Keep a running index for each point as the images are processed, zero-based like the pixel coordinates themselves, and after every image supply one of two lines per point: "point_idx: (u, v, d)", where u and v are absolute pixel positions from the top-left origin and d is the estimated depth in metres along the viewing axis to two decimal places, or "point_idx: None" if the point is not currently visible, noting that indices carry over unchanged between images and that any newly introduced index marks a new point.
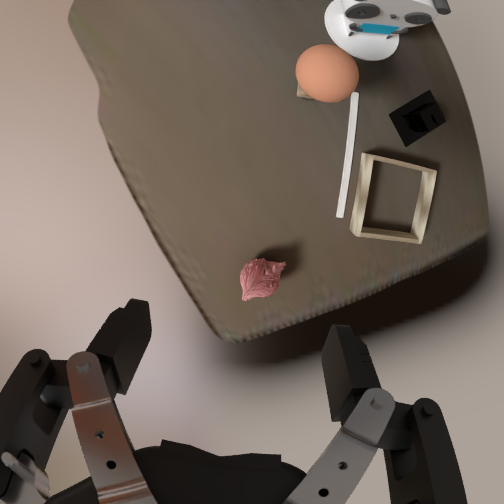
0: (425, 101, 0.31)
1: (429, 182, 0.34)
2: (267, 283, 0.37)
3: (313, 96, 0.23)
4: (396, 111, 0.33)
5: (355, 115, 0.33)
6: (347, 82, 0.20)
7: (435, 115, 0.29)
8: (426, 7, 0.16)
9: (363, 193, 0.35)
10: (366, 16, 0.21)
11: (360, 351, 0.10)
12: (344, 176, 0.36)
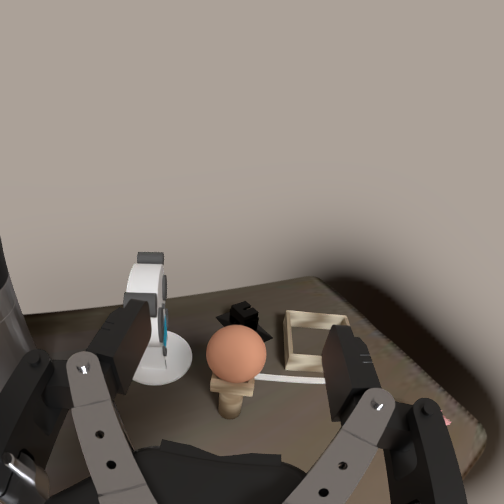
0: (226, 320, 0.48)
1: (296, 315, 0.48)
2: None
3: (263, 364, 0.26)
4: None
5: None
6: (251, 329, 0.27)
7: (242, 306, 0.46)
8: (161, 270, 0.35)
9: None
10: (163, 327, 0.32)
11: (360, 351, 0.10)
12: (310, 381, 0.38)
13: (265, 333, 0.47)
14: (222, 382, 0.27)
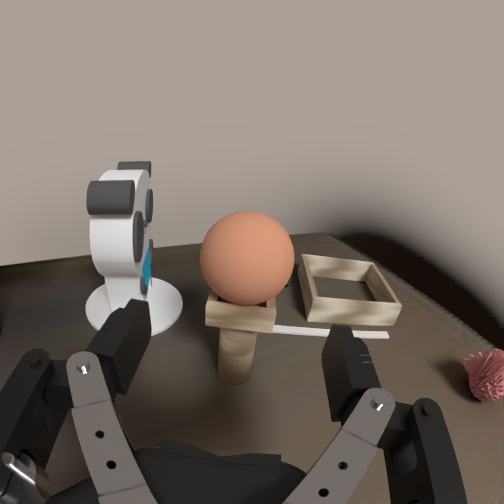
0: None
1: (315, 261, 0.39)
2: (497, 353, 0.18)
3: (291, 268, 0.17)
4: None
5: None
6: None
7: None
8: (146, 177, 0.26)
9: (358, 303, 0.30)
10: (142, 244, 0.23)
11: (360, 351, 0.10)
12: None
13: None
14: (225, 306, 0.18)
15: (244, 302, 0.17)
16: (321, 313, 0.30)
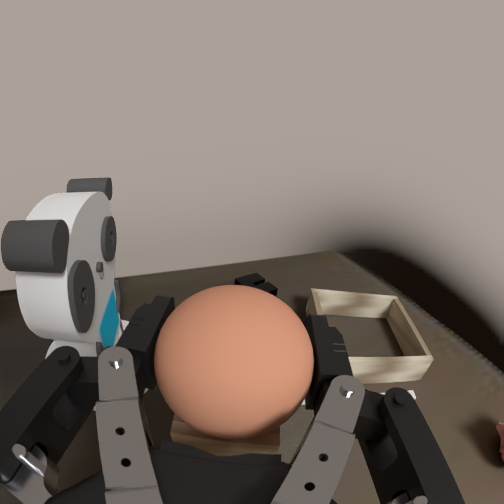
0: None
1: (327, 297, 0.31)
2: None
3: (308, 389, 0.09)
4: None
5: None
6: (274, 296, 0.10)
7: (252, 280, 0.30)
8: (100, 201, 0.18)
9: (382, 362, 0.21)
10: (92, 303, 0.15)
11: (335, 340, 0.11)
12: None
13: None
14: (199, 433, 0.09)
15: None
16: None
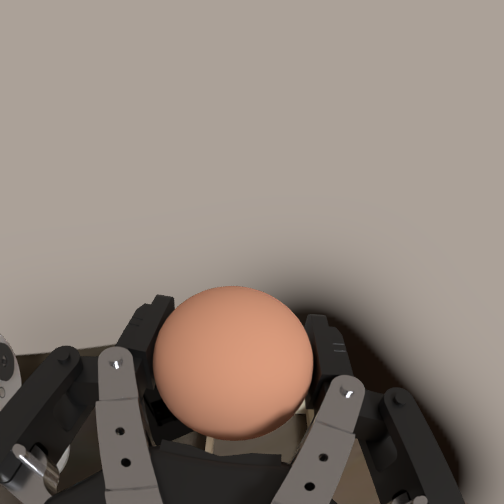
0: None
1: None
2: None
3: (307, 390, 0.09)
4: (152, 433, 0.24)
5: None
6: (273, 297, 0.10)
7: None
8: None
9: None
10: None
11: (335, 340, 0.11)
12: None
13: None
14: None
15: None
16: None
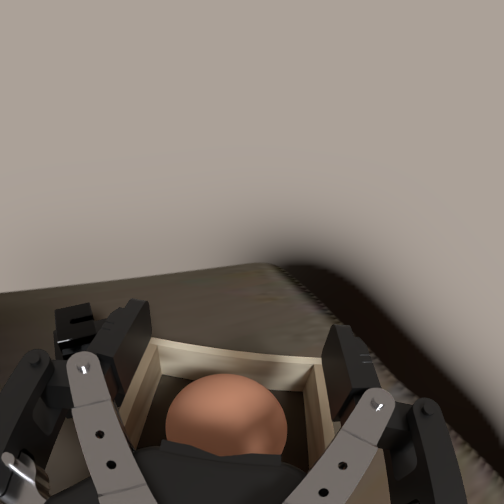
0: None
1: (178, 355, 0.17)
2: None
3: (281, 452, 0.11)
4: None
5: None
6: (256, 386, 0.12)
7: (73, 315, 0.16)
8: None
9: None
10: None
11: (360, 351, 0.10)
12: None
13: None
14: None
15: None
16: None
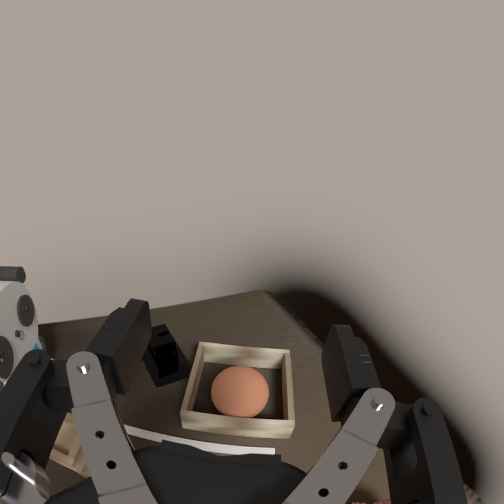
0: None
1: (214, 350, 0.34)
2: None
3: None
4: (153, 378, 0.31)
5: (133, 429, 0.23)
6: (253, 378, 0.26)
7: (157, 332, 0.33)
8: (13, 289, 0.21)
9: (233, 421, 0.24)
10: (11, 360, 0.18)
11: (360, 351, 0.10)
12: (215, 449, 0.23)
13: (189, 368, 0.33)
14: None
15: None
16: (194, 424, 0.24)
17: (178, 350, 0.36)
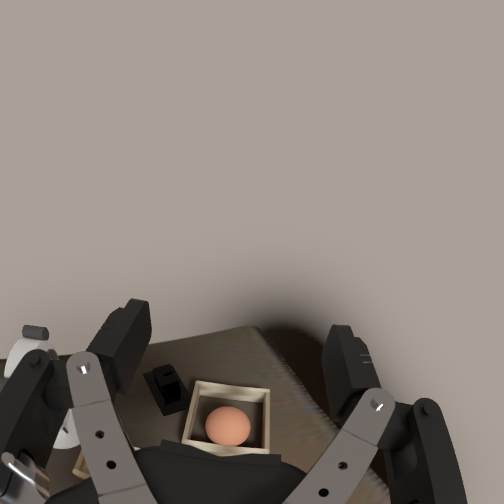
0: (153, 380, 0.41)
1: (208, 387, 0.39)
2: None
3: None
4: (161, 408, 0.36)
5: None
6: (237, 420, 0.31)
7: (163, 371, 0.39)
8: (41, 348, 0.26)
9: (222, 448, 0.29)
10: None
11: (360, 351, 0.10)
12: None
13: (189, 400, 0.39)
14: (82, 474, 0.17)
15: None
16: None
17: (180, 383, 0.41)
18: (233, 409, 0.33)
